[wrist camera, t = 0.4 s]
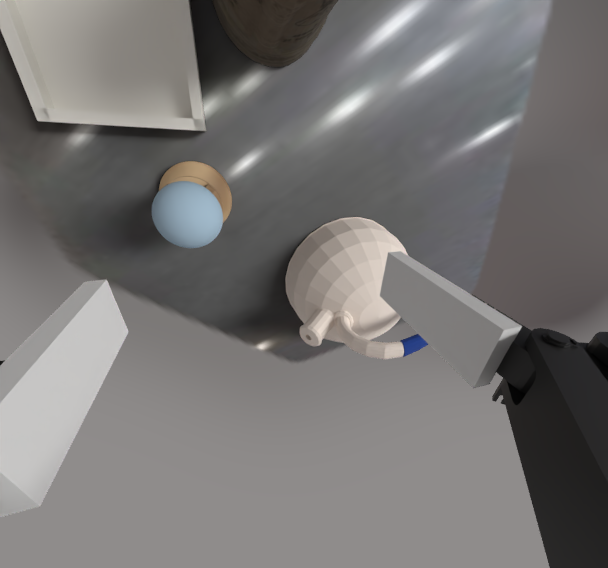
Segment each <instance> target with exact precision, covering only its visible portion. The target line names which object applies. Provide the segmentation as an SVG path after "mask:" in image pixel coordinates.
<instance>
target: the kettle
mask: <svg viewBox="0 0 608 568" xmlns="http://www.w3.org/2000/svg"><path fill="white" fill-rule="evenodd" d="M397 251H401V252H403V253H404V254H406V255H407V252H406V250H405V248H404V247H403V246H402V244H401V243H400V242H399V241H398V239H397V238H396V237H394V236H393V235H392V234H391V233H389V232H388V231H387V230H386V229H385V228H384V227H383V226H381V225H379V224H378V223H376V222H374V221H373V220H369V219H364V218H360V217H352V218H341V219H338V220H335V221H333V222H330V223H327V224H324V225H323V226H321V227H320V228H318V229H317V230H315V231H314V232H312V233H311V234H309V236H308V237H307V238H306V239H305V240H304V241H303V242H302V243H301V244H300V245H299V246H298V248H297V249H296V251H295V253H294V255H293V257H292V258H291V260H290V262H289V265H288V269H287V273H286V277H285V281H286V294H287V296H288V299H289V302H290V304H291V306H292V307H293V308H294V310H295V312H296V313H297V315H298V317H299V318H300V319H301V320H302V322H303V323H304V325H301V327H300V336H301V338H302V339H303V340H304V341H305V342H306V343H307V344H309V345H311V346H319V345H320V344H321V342H322V339H323V338H325V339H328V340H332V341H336V342H343V343H345V344H346V345H347V346H348V347H350V348H351V349H352V350H353V351H355V352H358V353H360V354H362V355H365V356H367V357H373V358H380V359H390V358H396V357H402V356H403V357H404V356H406V355H409V354H411V353H413V352H416V351H418V350H420V349H421V348H423V347H425V346H426V345H428V343H427V342H426V341H425V340H424V339H423V338H422V337H421V336H420V335H419V334H417V335H414V336H411V337H409V338H406V339H403V340H401V341H400V342H390V343H383V342H375V341H370V340H371V339H373V338H375V337H378V336H380V335H382V334H383V333H385V332H386V331H388V330H389V329H390V328H391V327H393V326H394V325H395V324H396V323H397V322H398V320H399V319H400V318H401V316H399V315H398V314H397V313H396V312H395V311H394V310H393V309H392V308H391V307H390V306H389V305H388V304H387V303H386V302H385V301H384V300H383V299H382V298H381V297H380V291H381V286H382V281H383V276H384V270H385V265H386V260H387V255H388V252H397ZM407 256H408V255H407Z"/></svg>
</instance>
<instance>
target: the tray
mask: <svg viewBox="0 0 608 568" xmlns="http://www.w3.org/2000/svg"><path fill="white" fill-rule="evenodd" d="M0 29H1V32H2V34H3V37H4V39H5V42H6V44H7V47H8V49H9V52H10V54H11V57H12V59H13V62H14V64H15V67H16V69H17V71H18V74H19V76H20V79H21V81H22V84H23V86H24V89H25V91H26V94H27V96H28V99H29V101H30V104H31V106H32V109H33V111H34V113H35V116H36V118H37V121H42V122H54V123H71V124H88V125H105V126H122V127H139V128H156V129H173V130H190V131H206V124H205V116H204V108H203V100H202V92H201V84H200V76H199V68H198V60H197V52H196V44H195V36H194V28H193V20H192V12H191V4H190V0H0Z"/></svg>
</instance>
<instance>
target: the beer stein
mask: <svg viewBox="0 0 608 568" xmlns="http://www.w3.org/2000/svg"><path fill="white" fill-rule="evenodd" d="M337 1H338V0H213V4H214V7H215V10H216V13H217V15H218V18H219V21H220V23H221V25H222V27H223V28H224V30H225V32H226V33H227V35H228V37H229V38H230V39H231V40H232V42H233V43H234V44H235V45H236V47H237V48H238V49H239V50H240V51H241V52H243V53H244V54H245V55H246V56H248V57H249V58H250V59H252V60H253V61H255V62H258V63H260V64H263V65H265V66H271V67H281V66H286V65H289V64H291V63H293V62H294V61H296V60H298V59H299V58H301V57H302V56H303V55H304V54H305V53H306V52H307V50H308V49H309V47H310V46H311V44H312V43H313V41H314V40H315V39H316V38H317V36H318V35H319V33H320V31H321V29H322V27H323V25H324V24H325V21H326V19H327V16H328V14H329V13H330V11H331V10H332V8H333V7H334V5H335V4H336V3H337Z"/></svg>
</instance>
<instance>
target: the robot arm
mask: <svg viewBox="0 0 608 568" xmlns="http://www.w3.org/2000/svg"><path fill="white" fill-rule="evenodd" d="M380 297H381V298H382V299H383V300H384V301H385V302H386V303H387V304H388V305H389V306H390V307H391V308H392V309H393V310H394V311H395V312H396V313H397V314H398V315H399V316H401V317H402V318H403V319H404V320H405V321H406V322H407V323H408V324H409V325H410V326H411V327H412V328H413V329H414V330H415V331H416V332H417V333H418V334H419V335H420V336H421V337H422V338H423V339H424V340H425V341H426V342H427V343H428V344H429V345H430V346H431V347H432V348H433V349H434V350H435V351H436V352H437V353H438V354H439V355H440V356H441V357H442V358H443V359H444V360H445V361H446V362H447V363H448V364H449V365H450V366H451V367H452V368H453V369H454V370H455V371H456V372H457V373H458V374H459V375H460V376H461V377H462V378H463V379H464V380H465V381H466V382H467V383H468V384H469V385H470V386H471V387H473V388H476V387H480V386H484V385H487V384H490V382H491V380H492V379H493V377H494V375H495V373H496V372H497V373H498V374H499V375H501V376H502V377H503V380H502V381H501V383H500V385H499V386H498V388H497V390H496V391H495V393H494V395H493V398H492V399H493V401H496V400H497V399H498V397H499V396H500V395H503V400H502V402H501V403H502V404H505V405H506V409H507V413H508V416H509V420H510V424H511V427H512V431H513V435H514V438H515V442H516V445H517V449H518V453H519V456H520V460H521V463H522V467H523V471H524V475H525V478H526V482H527V486H528V489H529V493H530V497H531V500H532V504H533V508H534V511H535V515H536V519H537V522H538V526H539V530H540V533H541V537H542V541H543V544H544V548H545V552H546V555H547V559H548V563H549V566H550V568H608V332H599V333H597V334H596V335H595V336H594V337H593V339H592V340H591V341H590V342H589V343H578V342H576V341H575V340H574V339H571V338H570V337H568V336H566V335H564V334H561V333H559V332H556V331H553V330H549V329H543V328H538V329H534V330H532V331H531V330H530V329H528V328H526V327H525V326H523V325H521V324H520V323H518V322H517V321H515V320H513V319H512V318H510V317H508V316H507V315H505V314H503V313H502V312H500V311H499V310H495V309H494V307H492V306H490V305H489V304H485V302H484V301H482V300H481V299H479V298H477V297H476V296H474V295H471V294H469V293H467V292H466V291H464V290H463V289H461V288H459V287H458V286H456V285H454V284H453V283H451V282H450V281H448V280H446V279H445V278H443V277H442V276H440V275H438V274H437V273H435V272H433V271H432V270H430V269H429V268H427V267H425V266H424V265H422V264H420V263H419V262H417V261H416V260H414V259H412V258H411V257H409V256H407V255H406V254H404V253H403V252H401V251H397V252H388V255H387V260H386V265H385V270H384V276H383V281H382V286H381V291H380ZM127 334H128V329H127V327H126V324H125V322H124V320H123V318H122V315H121V313H120V311H119V308H118V305H117V303H116V301H115V299H114V296H113V294H112V291H111V289H110V286H109V284H108V282H107V280H97V281H86V282H84V283H83V284H82V285H81V286H80V287H79V288H78V289H77V290H76V291H75V292H74V293H73V294H72V295H71V296H70V297H69V298H68V299H67V300H66V301H65V302H64V303H63V304H62V305H61V306H60V307H59V308H58V309H57V310H56V311H55V312H54V313H53V314H52V315H51V316H50V317H49V318H48V319H47V320H46V321H45V322H44V323H43V324H42V325H41V326H40V327H39V328H38V329H37V330H36V331H35V332H34V333H33V334H32V335H30V337H29V338H27V339H26V341H25V342H23V343H22V344H21V346H20V347H18V349H16V350H15V351H14V352H13V353H12V354H11V355H10V356H9V357H8V358H7V359H6V360H5V361H0V517H2V516H6V515H10V514H13V513H17V512H21V511H24V510H28V509H31V508H36V507H39V506H40V505H41V503H42V501H43V499H44V497H45V495H46V493H47V491H48V489H49V487H50V485H51V483H52V481H53V479H54V477H55V475H56V474H57V472H58V469H59V468H60V466H61V464H62V462H63V460H64V458H65V456H66V454H67V452H68V450H69V448H70V446H71V444H72V442H73V440H74V438H75V436H76V434H77V432H78V430H79V428H80V426H81V424H82V422H83V420H84V418H85V416H86V414H87V412H88V411H89V409H90V407H91V405H92V403H93V401H94V399H95V397H96V395H97V393H98V391H99V389H100V387H101V385H102V383H103V381H104V379H105V377H106V375H107V373H108V371H109V369H110V367H111V365H112V363H113V361H114V359H115V357H116V355H117V353H118V351H119V349H120V348H121V346H122V344H123V342H124V340H125V338H126V336H127Z"/></svg>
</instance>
